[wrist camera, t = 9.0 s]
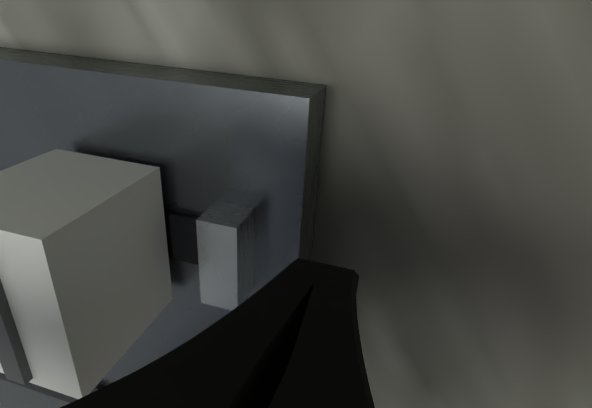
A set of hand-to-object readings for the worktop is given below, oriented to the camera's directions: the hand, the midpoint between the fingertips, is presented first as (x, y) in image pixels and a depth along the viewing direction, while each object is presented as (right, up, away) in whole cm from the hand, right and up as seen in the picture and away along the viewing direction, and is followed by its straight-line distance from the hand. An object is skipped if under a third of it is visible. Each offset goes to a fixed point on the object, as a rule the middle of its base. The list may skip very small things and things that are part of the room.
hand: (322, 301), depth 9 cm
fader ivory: (-5, +1, +2) cm, 6 cm away
